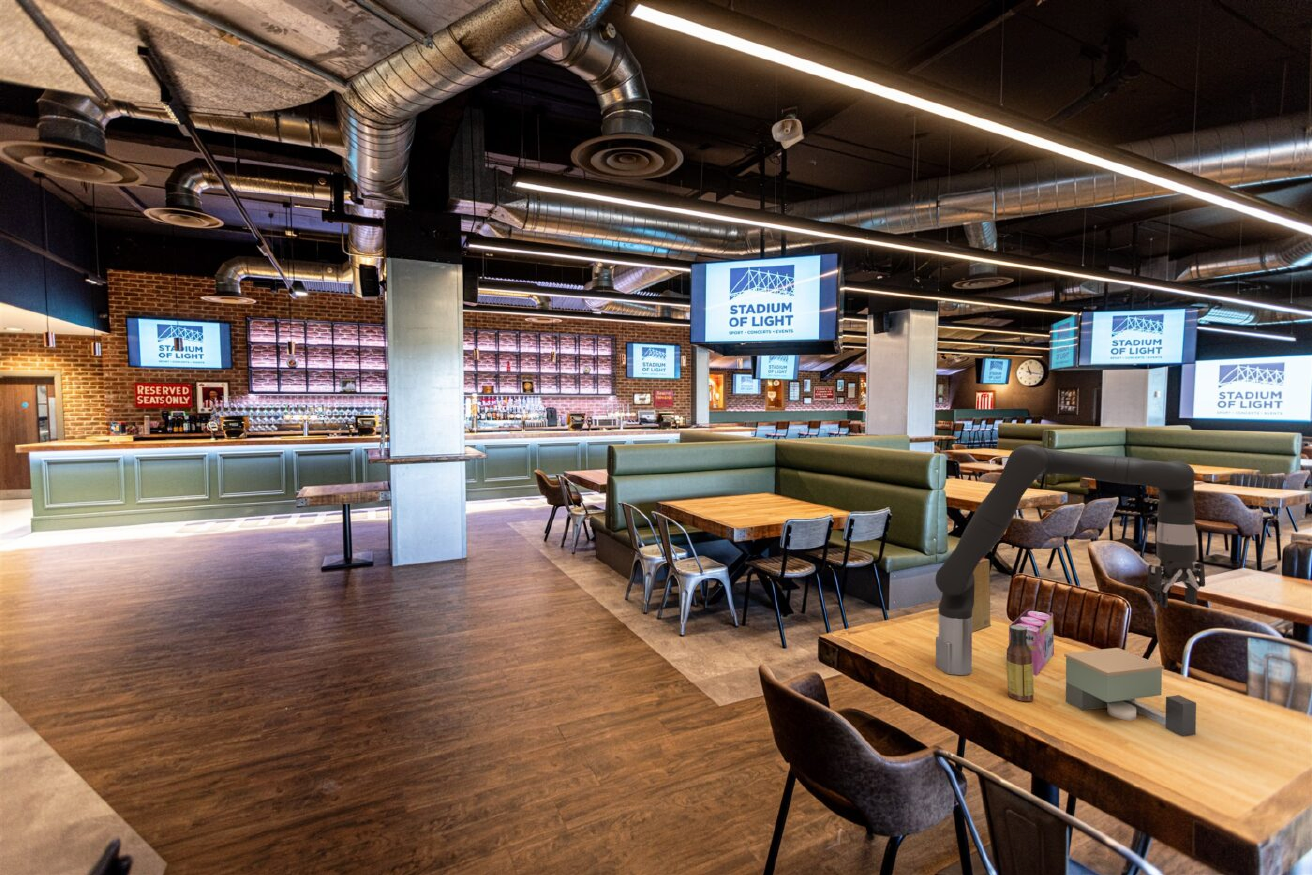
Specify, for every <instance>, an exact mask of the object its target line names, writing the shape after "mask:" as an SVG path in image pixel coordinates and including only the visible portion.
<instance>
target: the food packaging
mask: <svg viewBox="0 0 1312 875" xmlns="http://www.w3.org/2000/svg"><path fill="white" fill-rule="evenodd" d="M990 566H991V560H990V559H988V558H985V557H983V558H982V560H981V561H980V562H979V563H978V565H977V566H976V568H975V570H974V571H973V574H974V580H975V590H974V606H973V609H972V633H974V632H977V631H980V630H983V629H986V628H988V627H991V576H990V575H991V573H990V572H991V570H990V568H991V567H990Z"/></svg>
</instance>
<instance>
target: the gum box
mask: <svg viewBox="0 0 1312 875" xmlns="http://www.w3.org/2000/svg"><path fill="white" fill-rule="evenodd" d="M1012 625H1020V626H1024V627H1026V628H1027V634H1026V641H1027V645H1028V646H1029V648H1030V650H1031V652H1032V662H1033V676H1037V675H1038V674H1039V673H1040V672H1041V671H1042V670H1043V668H1044V667H1045V665H1046V664H1047V663H1048V662H1049V661H1050V659H1051V658H1052V657H1053V655H1055V648H1054V647H1055V640H1054V639H1055V638H1054V636H1055V634H1054V613H1053V612H1048V613H1045V612H1039V611H1035V610H1033V609H1032V608H1027V609H1025V610H1024V611H1023V612H1022V613H1021V614H1020V615H1019V616H1018V617H1017V618H1016V619H1015V620H1014V621H1013V622H1012V623H1011V624H1010V625H1008V645H1009V644H1010V642H1011V632H1010V626H1012Z"/></svg>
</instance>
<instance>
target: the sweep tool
mask: <svg viewBox="0 0 1312 875" xmlns="http://www.w3.org/2000/svg"><path fill="white" fill-rule="evenodd" d="M1126 703H1128V704H1131V705H1133V706H1134V707H1135V708H1136V713H1137V714H1139V715H1141V716H1143V717H1146V718H1148V719H1150V720H1153V721H1155V722H1156V723H1158V724H1160V725H1163V726H1164V727H1165V729H1166V730H1168V731H1170V732H1172V733H1174V734H1177V735H1178V736H1181V737H1182V738H1183V737H1189V736H1195V735H1196V733H1197V731H1196V729H1197V727H1196V726H1197V725H1196V724H1197V702H1196V701H1193V700H1191V699H1189V698H1186V697H1185V696H1181V695H1179V694H1178V695H1169V696H1165V713H1164V712H1161V711H1159V710H1157V709H1155V708H1153V707H1150V706H1149V705H1146V704H1144V703H1142V702H1141V701H1137V700H1136V699H1135V700H1134V699H1129V700H1126Z"/></svg>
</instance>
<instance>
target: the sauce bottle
mask: <svg viewBox="0 0 1312 875" xmlns="http://www.w3.org/2000/svg"><path fill="white" fill-rule="evenodd" d="M1009 626H1010V625H1009ZM1010 632H1011V642H1010V644H1009V643H1008V646H1007V648H1006V675H1007V677H1006V678H1007V692H1008V695H1009V696H1010V698H1012V699H1014V700H1017V701H1022V702H1031V701H1033V700H1034V693H1035V692H1034V690H1035V689H1034V685H1035V684H1034V675H1033V662H1032V652H1031V650H1030V648H1029V646H1028V645H1027V641H1026V634H1027V628H1026V627H1024V626H1020V625H1012V626H1010Z"/></svg>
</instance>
